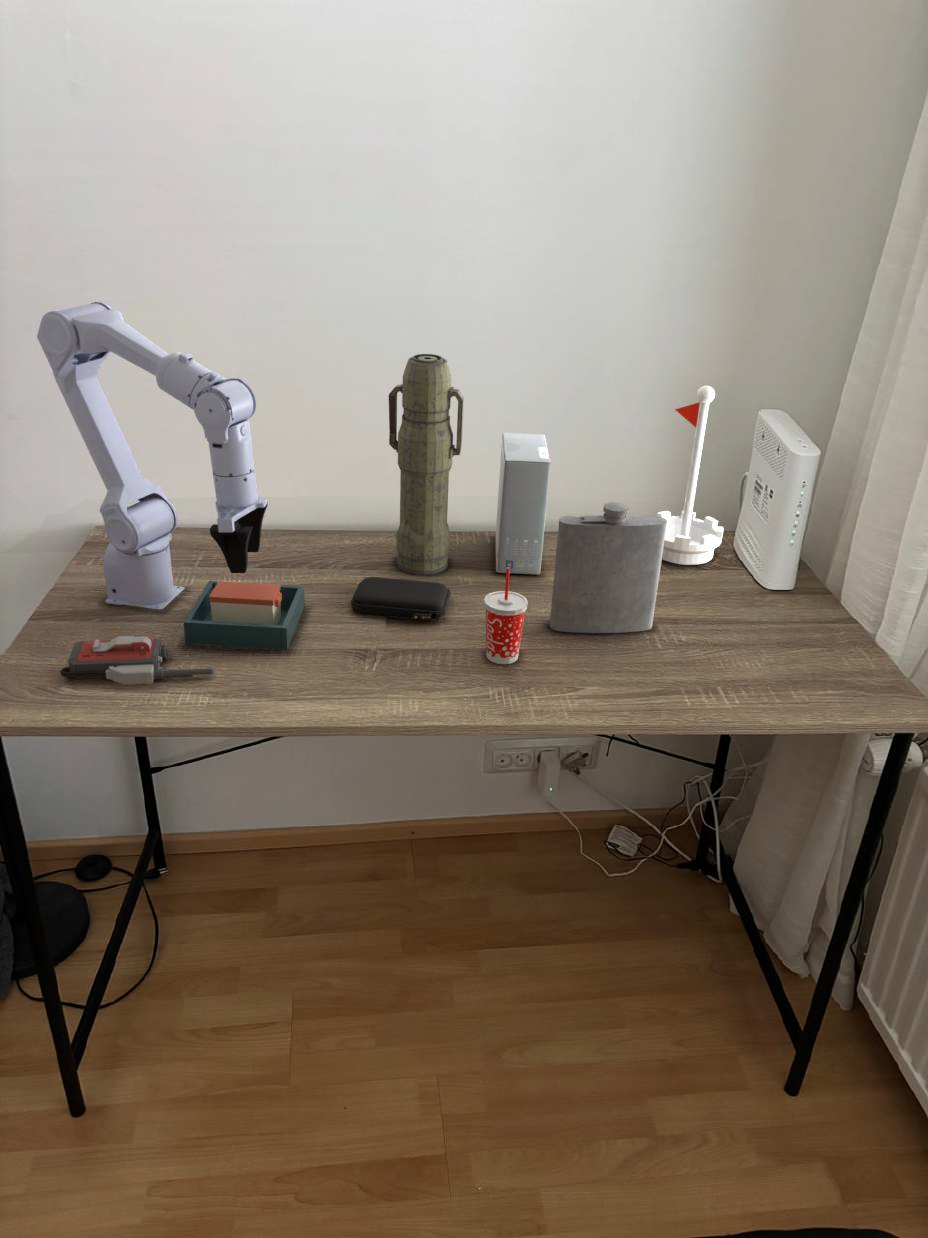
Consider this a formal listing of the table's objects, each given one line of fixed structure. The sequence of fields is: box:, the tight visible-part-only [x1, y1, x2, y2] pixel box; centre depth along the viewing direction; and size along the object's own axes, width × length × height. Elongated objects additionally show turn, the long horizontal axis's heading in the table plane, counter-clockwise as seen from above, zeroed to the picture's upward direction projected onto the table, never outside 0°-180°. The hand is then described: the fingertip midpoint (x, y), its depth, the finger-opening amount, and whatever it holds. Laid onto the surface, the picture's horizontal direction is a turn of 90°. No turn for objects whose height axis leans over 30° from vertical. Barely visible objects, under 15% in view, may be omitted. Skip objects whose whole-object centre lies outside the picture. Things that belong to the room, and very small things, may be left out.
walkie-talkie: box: [60, 635, 215, 685], centre depth 139 cm, size 9×4×20 cm
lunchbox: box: [209, 580, 282, 625], centre depth 150 cm, size 10×5×6 cm, turn 87°
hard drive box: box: [495, 432, 552, 576], centre depth 174 cm, size 16×8×20 cm, turn 179°
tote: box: [183, 580, 306, 651], centre depth 151 cm, size 15×14×4 cm
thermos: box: [388, 353, 465, 576], centre depth 166 cm, size 9×12×35 cm
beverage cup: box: [483, 567, 529, 665], centre depth 144 cm, size 6×6×14 cm
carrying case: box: [350, 576, 452, 621], centre depth 158 cm, size 11×3×15 cm
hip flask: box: [549, 501, 667, 634], centre depth 152 cm, size 16×4×20 cm, turn 95°
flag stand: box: [656, 385, 724, 566], centre depth 176 cm, size 13×13×30 cm
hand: (245, 561), depth 147 cm, fingers open, 7 cm apart
